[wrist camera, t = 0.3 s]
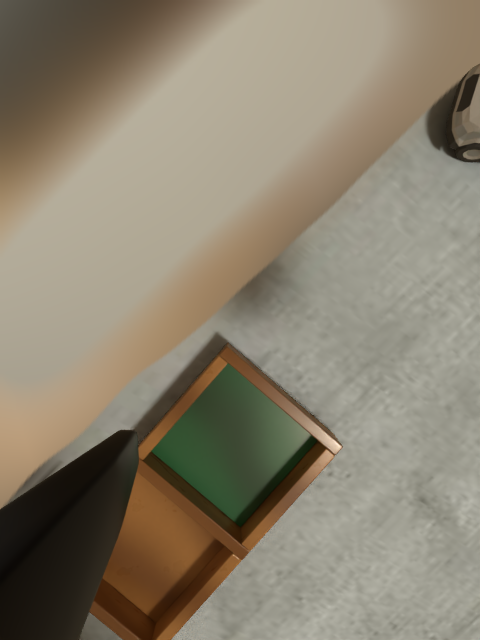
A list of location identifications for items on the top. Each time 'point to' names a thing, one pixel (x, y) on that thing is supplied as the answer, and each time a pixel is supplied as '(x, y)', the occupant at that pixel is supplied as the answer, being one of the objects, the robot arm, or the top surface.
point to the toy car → (466, 118)
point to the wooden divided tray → (207, 495)
